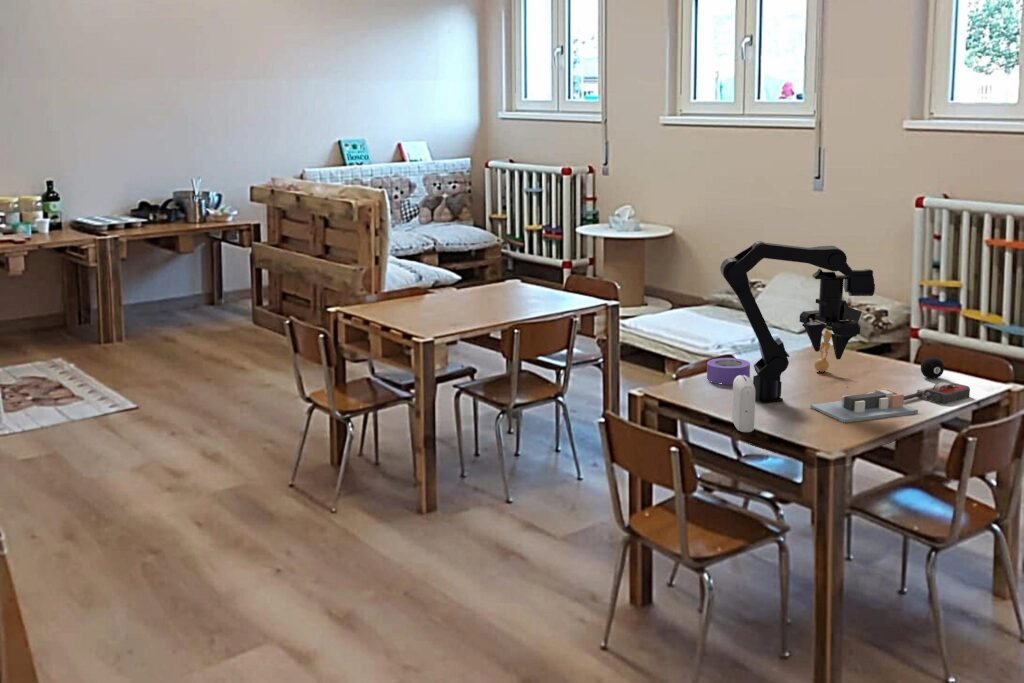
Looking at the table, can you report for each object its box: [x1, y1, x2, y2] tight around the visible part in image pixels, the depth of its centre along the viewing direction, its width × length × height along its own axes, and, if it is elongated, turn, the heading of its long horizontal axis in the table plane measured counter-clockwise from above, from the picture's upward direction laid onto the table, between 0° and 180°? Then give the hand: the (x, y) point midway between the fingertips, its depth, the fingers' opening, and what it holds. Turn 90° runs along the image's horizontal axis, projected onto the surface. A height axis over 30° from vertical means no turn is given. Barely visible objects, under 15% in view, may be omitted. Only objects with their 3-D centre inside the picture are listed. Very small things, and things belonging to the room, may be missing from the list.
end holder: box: [874, 387, 905, 408], centre depth 288 cm, size 3×7×3 cm, turn 20°
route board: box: [809, 391, 919, 424], centre depth 285 cm, size 22×14×3 cm, turn 110°
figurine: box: [813, 329, 833, 373], centre depth 323 cm, size 8×6×12 cm
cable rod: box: [844, 390, 893, 411], centre depth 286 cm, size 12×3×3 cm, turn 110°
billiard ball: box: [920, 356, 945, 380], centre depth 315 cm, size 6×6×6 cm
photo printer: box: [731, 375, 756, 433], centre depth 273 cm, size 10×4×12 cm, turn 179°
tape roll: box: [706, 357, 751, 385], centre depth 316 cm, size 12×12×5 cm
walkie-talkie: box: [903, 381, 971, 405], centre depth 295 cm, size 9×4×20 cm
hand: (827, 355), depth 293 cm, fingers open, 9 cm apart
